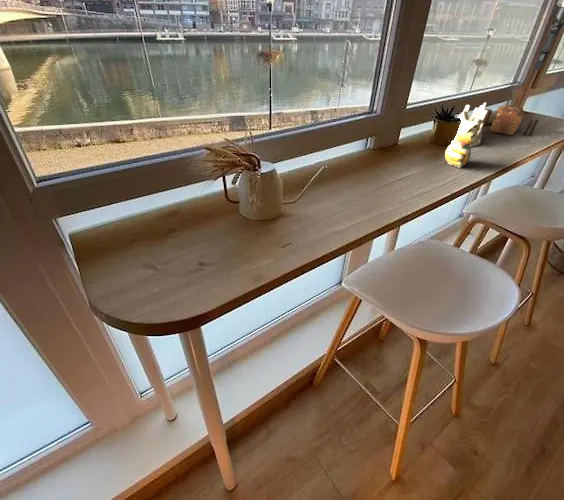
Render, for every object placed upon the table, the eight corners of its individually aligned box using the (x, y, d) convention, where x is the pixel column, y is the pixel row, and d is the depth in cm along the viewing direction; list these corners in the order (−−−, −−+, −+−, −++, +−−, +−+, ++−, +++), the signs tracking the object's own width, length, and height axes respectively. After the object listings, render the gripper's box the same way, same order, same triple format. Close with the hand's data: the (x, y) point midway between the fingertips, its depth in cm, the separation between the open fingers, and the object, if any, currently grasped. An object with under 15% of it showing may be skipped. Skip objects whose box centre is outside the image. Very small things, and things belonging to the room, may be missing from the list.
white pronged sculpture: (450, 129, 147) (463, 94, 137) (486, 141, 138) (503, 105, 128) (432, 139, 139) (444, 102, 129) (469, 152, 130) (485, 114, 120)
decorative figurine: (462, 171, 113) (480, 127, 103) (438, 164, 116) (453, 121, 107) (469, 162, 119) (486, 120, 109) (445, 156, 122) (460, 115, 113)
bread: (513, 136, 143) (525, 113, 137) (487, 131, 148) (497, 108, 141) (516, 126, 156) (526, 104, 150) (491, 121, 160) (501, 100, 154)
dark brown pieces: (531, 134, 146) (540, 118, 142) (530, 136, 144) (539, 120, 140) (479, 123, 157) (486, 108, 152) (478, 125, 155) (484, 109, 151)
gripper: (557, 5, 142) (529, 66, 157) (553, 5, 134) (525, 70, 149) (577, 6, 139) (547, 69, 153) (575, 6, 130) (544, 72, 145)
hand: (536, 69), depth 151 cm, fingers closed
